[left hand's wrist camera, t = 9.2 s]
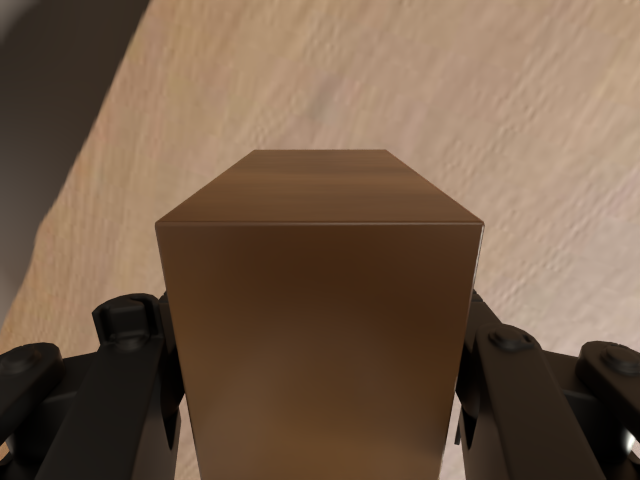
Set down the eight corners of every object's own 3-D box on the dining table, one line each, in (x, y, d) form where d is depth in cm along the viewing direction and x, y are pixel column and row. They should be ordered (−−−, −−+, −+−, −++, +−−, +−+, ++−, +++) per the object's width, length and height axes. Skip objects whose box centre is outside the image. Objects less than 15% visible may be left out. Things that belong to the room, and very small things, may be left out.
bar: (253, 149, 13) (152, 222, 5) (386, 149, 13) (487, 222, 5) (279, 537, 22) (256, 789, 14) (361, 537, 22) (384, 789, 14)
